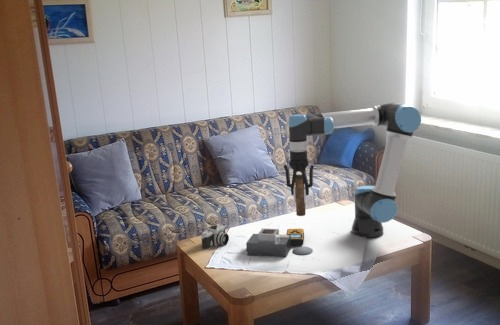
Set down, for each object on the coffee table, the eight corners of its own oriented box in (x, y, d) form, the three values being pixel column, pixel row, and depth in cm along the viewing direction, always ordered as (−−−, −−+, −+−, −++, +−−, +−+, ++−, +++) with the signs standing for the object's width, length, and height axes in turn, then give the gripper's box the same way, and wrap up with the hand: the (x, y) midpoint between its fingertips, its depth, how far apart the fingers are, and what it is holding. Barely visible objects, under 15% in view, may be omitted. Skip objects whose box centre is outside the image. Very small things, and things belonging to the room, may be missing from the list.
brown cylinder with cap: (306, 213, 237) (304, 174, 233) (304, 216, 233) (303, 176, 230) (297, 213, 238) (295, 174, 234) (295, 215, 234) (294, 176, 231)
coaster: (314, 247, 242) (314, 247, 242) (311, 255, 234) (311, 254, 234) (294, 247, 245) (294, 246, 245) (291, 254, 236) (291, 253, 236)
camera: (213, 252, 245) (211, 232, 243) (199, 249, 250) (197, 229, 248) (234, 241, 257) (232, 222, 255) (220, 238, 262) (219, 219, 260)
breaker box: (291, 247, 245) (290, 227, 243) (286, 257, 234) (285, 237, 232) (254, 245, 250) (252, 226, 248) (247, 255, 239) (245, 235, 237)
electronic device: (304, 234, 260) (303, 227, 260) (304, 245, 245) (304, 238, 245) (286, 234, 261) (286, 227, 261) (286, 245, 246) (285, 238, 245)
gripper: (319, 148, 231) (320, 200, 236) (281, 148, 236) (283, 199, 240) (316, 151, 224) (318, 205, 229) (277, 152, 229) (280, 204, 233)
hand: (300, 202), depth 235 cm, fingers closed on brown cylinder with cap, 4 cm apart
